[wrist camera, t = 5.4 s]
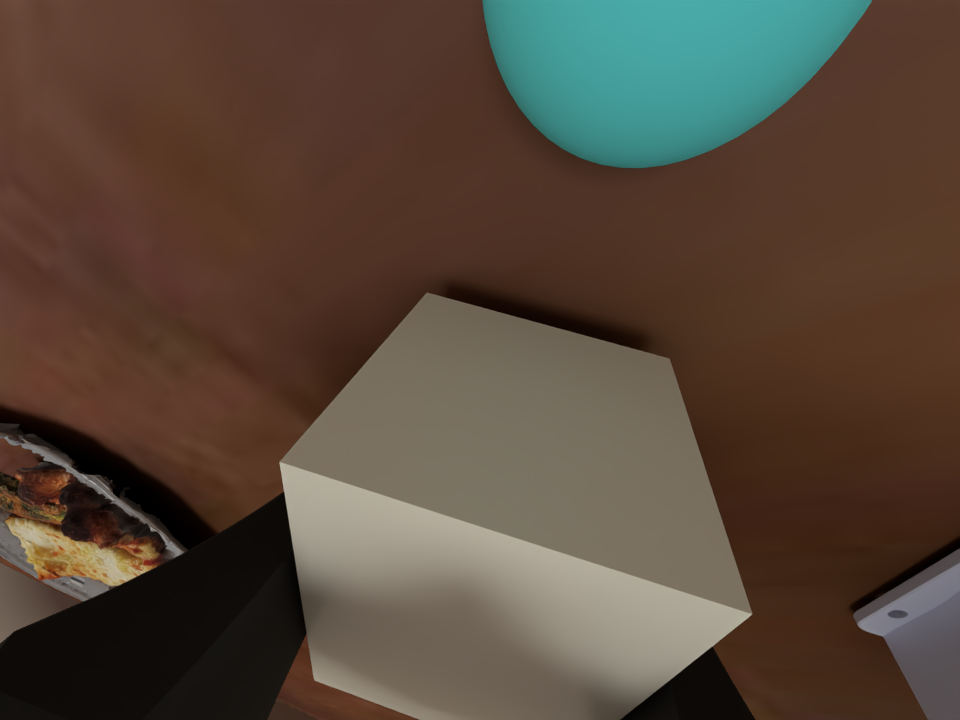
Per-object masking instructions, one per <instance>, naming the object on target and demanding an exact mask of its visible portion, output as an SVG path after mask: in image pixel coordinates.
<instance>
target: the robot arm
mask: <svg viewBox="0 0 960 720" xmlns="http://www.w3.org/2000/svg"><path fill="white" fill-rule="evenodd" d="M854 619H855V621H856V623H857V625H858V626H859V627H860V628H861V629H863V630H865V631H867V632H870V633H873V634H876V635H879V636H882V637H884V639H885V641H886V643H887V645H888V647H889V649H890V650H891V652H892V654H893V656H894V658H895V660H896V661H897V663H898V665H899V667H900V669H901V671H902V673H903V674H904V676H905V678H906V680H907V682H908V684H909V685H910V687H911V689H912V691H913V693H914V695H915V697H916V698H917V700H918V702H919V704H920V706H921V708H922V709H923V711H924V713H925V715H926V717H927V719H928V720H960V548H959V549H958V550H956V551H954V552H953V553H951V554H949V555H948V556H946V557H945V558H943V559H941V560H940V561H938V562H936V563H935V564H933V565H931V566H930V567H928V568H926V569H925V570H923V571H921V572H920V573H918V574H917V575H915V576H913V577H912V578H910V579H908V580H907V581H905V582H903V583H902V584H900V585H898V586H897V587H895V588H893V589H892V590H890V591H888V592H887V593H885V594H884V595H882V596H880V597H879V598H877V599H875V600H874V601H872V602H870V603H869V604H867V605H865V606H864V607H862V608H860V609H859V610H857V611H856V612H855V613H854ZM306 634H307V632H306V626H305V619H304V613H303V607H302V601H301V594H300V588H299V582H298V575H297V569H296V563H295V556H294V550H293V544H292V537H291V531H290V525H289V519H288V512H287V506H286V500H285V493H284V492H283V493H281V494H280V495H278V496H277V497H275V498H274V499H273V500H271V501H270V502H268V503H267V504H265V505H264V506H262V507H261V508H259V509H258V510H256V511H254V512H253V513H251V514H250V515H248V516H247V517H245V518H243V519H242V520H240V521H238V522H237V523H235V524H233V525H232V526H230V527H229V528H227V529H225V530H224V531H222V532H220V533H218V534H216V535H215V536H213V537H211V538H209V539H208V540H206V541H204V542H202V543H201V544H199V545H197V546H195V547H193V548H192V549H190V550H188V551H186V552H184V553H182V554H181V555H179V556H177V557H175V558H173V559H171V560H169V561H167V562H165V563H163V564H161V565H159V566H157V567H155V568H153V569H151V570H149V571H147V572H145V573H143V574H141V575H139V576H137V577H135V578H133V579H131V580H129V581H127V582H125V583H123V584H120V585H118V586H116V587H114V588H112V589H110V590H108V591H106V592H104V593H101V594H99V595H97V596H95V597H93V598H90V599H88V600H86V601H83V602H81V603H79V604H76V605H74V606H72V607H70V608H67V609H65V610H63V611H60V612H58V613H56V614H53V615H51V616H49V617H47V618H44V619H42V620H40V621H38V622H35V623H33V624H31V625H28V626H26V627H23V628H21V629H19V630H17V631H15V632H13V633H12V634H11V635H10V636H9V637H7V638H6V639H5V640H4V641H3V642H2V643H0V720H267V719H268V716H269V714H270V712H271V710H272V707H273V705H274V703H275V701H276V698H277V696H278V694H279V692H280V689H281V687H282V685H283V683H284V681H285V679H286V676H287V674H288V672H289V670H290V668H291V666H292V663H293V661H294V659H295V657H296V655H297V653H298V650H299V648H300V646H301V644H302V642H303V640H304V638H305V636H306ZM620 720H755V718H754V717H753V715H752V713H751V712H750V710H749V708H748V707H747V705H746V703H745V702H744V700H743V699H742V697H741V695H740V694H739V692H738V690H737V689H736V687H735V685H734V684H733V682H732V680H731V678H730V677H729V675H728V673H727V671H726V670H725V668H724V666H723V664H722V663H721V661H720V659H719V657H718V655H717V654H716V652H715V650H714V648H713V646H712V647H711V648H710V649H708V650H707V651H706V652H705V653H703V654H702V655H701V656H700V657H698V658H697V659H696V660H694V661H693V662H692V663H691V664H689V665H688V666H687V667H686V668H684V669H683V670H682V671H681V672H679V673H678V674H677V675H676V676H674V677H673V678H672V679H671V680H669V681H668V682H667V683H666V684H664V685H663V686H662V687H661V688H659V689H658V690H657V691H656V692H654V693H653V694H652V695H651V696H649V697H648V698H647V699H646V700H644V701H643V702H642V703H641V704H639V705H638V706H637V707H635V708H634V709H633V710H632V711H630V712H629V713H628V714H627V715H625V716H624V717H623V718H622V719H620Z"/></svg>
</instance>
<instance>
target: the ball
mask: <svg viewBox="0 0 960 720" xmlns="http://www.w3.org/2000/svg"><path fill="white" fill-rule="evenodd" d="M871 1H872V0H483V10H484V18H485V22H486V27H487V32H488V37H489V41H490V45H491V48H492V51H493V54H494V58H495V61H496V64H497V67H498V69H499V71H500V74H501V76H502V78H503V80H504V82H505V85H506V87H507V89H508V91H509V92H510V94H511V96H512V97H513V99H514V100H515V102H516V104H517V105H518V107H519V108H520V110H521V111H522V112H523V113H524V115H525V116H526V117H527V118H528V120H529V121H530V122H531V123H532V124H533V125H534V126H535V127H536V128H537V129H538V130H539V131H540V132H541V133H542V134H543V135H544V136H545V137H546V138H548V139H549V140H550V141H552V142H553V143H555V144H556V145H558V146H559V147H561V148H562V149H563V150H565V151H567V152H569V153H571V154H573V155H575V156H577V157H580V158H582V159H585V160H588V161H591V162H594V163H597V164H601V165H606V166H613V167H619V168H647V167H655V166H663V165H667V164H671V163H676V162H680V161H684V160H687V159H690V158H692V157H695V156H698V155H700V154H703V153H706V152H708V151H711V150H713V149H715V148H717V147H719V146H721V145H723V144H725V143H727V142H728V141H730V140H732V139H734V138H736V137H738V136H740V135H741V134H743V133H744V132H746V131H748V130H749V129H751V128H752V127H754V126H755V125H757V124H758V123H760V122H761V121H763V120H764V119H765V118H767V117H768V116H769V115H771V114H772V113H773V112H774V111H776V110H777V109H778V108H779V107H781V106H782V105H783V104H784V103H786V102H787V101H788V100H789V99H790V98H791V97H792V96H793V95H794V94H795V93H796V92H798V91H799V90H800V89H801V88H802V87H803V86H804V85H805V84H806V83H807V82H808V81H809V80H810V79H811V78H812V77H813V76H814V75H815V74H816V73H817V71H818V70H819V69H820V68H821V67H822V66H823V65H824V64H825V62H826V61H827V60H828V59H829V58H830V57H831V56H832V54H833V53H834V52H835V51H836V50H837V49H838V47H839V46H840V45H841V44H842V42H843V41H844V39H845V38H846V37H847V35H848V34H849V33H850V31H851V30H852V29H853V27H854V26H855V25H856V23H857V22H858V21H859V19H860V18H861V17H862V15H863V14H864V12H865V11H866V9H867V8H868V6H869V4H870V3H871Z"/></svg>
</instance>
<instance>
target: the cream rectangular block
mask: <svg viewBox="0 0 960 720" xmlns="http://www.w3.org/2000/svg"><path fill="white" fill-rule="evenodd" d="M280 468H281V474H282V481H283V487H284V493H285V500H286V506H287V512H288V519H289V525H290V531H291V537H292V544H293V550H294V556H295V563H296V569H297V575H298V582H299V588H300V594H301V601H302V607H303V613H304V619H305V626H306V632H307V638H308V645H309V651H310V657H311V664H312V670H313V676H314V680H315V681H318V682H320V683H323V684H326V685H328V686H331V687H334V688H336V689H339V690H342V691H345V692H347V693H350V694H353V695H355V696H358V697H361V698H363V699H366V700H369V701H371V702H374V703H377V704H379V705H382V706H385V707H388V708H390V709H393V710H396V711H398V712H401V713H404V714H406V715H409V716H412V717H414V718H417V719H420V720H620V719H622V718H623V717H624V716H625V715H627V714H628V713H629V712H630V711H632V710H633V709H634V708H635V707H637V706H638V705H639V704H641V703H642V702H643V701H644V700H646V699H647V698H648V697H649V696H651V695H652V694H653V693H654V692H656V691H657V690H658V689H659V688H661V687H662V686H663V685H664V684H666V683H667V682H668V681H669V680H671V679H672V678H673V677H674V676H676V675H677V674H678V673H679V672H681V671H682V670H683V669H684V668H686V667H687V666H688V665H689V664H691V663H692V662H693V661H694V660H696V659H697V658H698V657H700V656H701V655H702V654H703V653H705V652H706V651H707V650H708V649H710V648H711V647H712V646H713V645H715V644H716V643H717V642H718V641H720V640H721V639H722V638H723V637H725V636H726V635H727V634H728V633H730V632H731V631H732V630H733V629H735V628H736V627H737V626H738V625H740V624H741V623H742V622H743V621H745V620H746V619H747V618H748V617H750V616H751V615H752V612H751V609H750V606H749V602H748V599H747V596H746V593H745V590H744V587H743V584H742V581H741V578H740V575H739V572H738V568H737V565H736V562H735V559H734V556H733V553H732V550H731V547H730V544H729V541H728V538H727V534H726V531H725V528H724V525H723V522H722V519H721V516H720V513H719V510H718V507H717V504H716V501H715V497H714V494H713V491H712V488H711V485H710V482H709V479H708V476H707V473H706V470H705V467H704V463H703V460H702V457H701V454H700V451H699V448H698V445H697V442H696V439H695V436H694V433H693V429H692V426H691V423H690V420H689V417H688V414H687V411H686V408H685V405H684V402H683V399H682V396H681V392H680V389H679V386H678V383H677V380H676V377H675V374H674V371H673V368H672V365H671V362H670V359H669V358H666V357H662V356H658V355H655V354H651V353H647V352H644V351H640V350H636V349H633V348H629V347H625V346H622V345H618V344H614V343H611V342H607V341H603V340H600V339H596V338H592V337H588V336H585V335H581V334H577V333H574V332H570V331H566V330H563V329H559V328H555V327H552V326H548V325H544V324H541V323H537V322H533V321H530V320H526V319H522V318H519V317H515V316H511V315H508V314H504V313H500V312H497V311H493V310H489V309H485V308H482V307H478V306H474V305H471V304H467V303H463V302H460V301H456V300H452V299H449V298H445V297H441V296H438V295H434V294H430V293H426V294H425V295H424V297H423V298H422V299H421V300H420V301H419V302H418V303H417V305H416V306H415V307H414V308H413V309H412V310H411V311H410V313H409V314H408V315H407V316H406V317H405V318H404V320H403V321H402V322H401V323H400V324H399V325H398V326H397V328H396V329H395V330H394V331H393V332H392V333H391V334H390V336H389V337H388V338H387V339H386V340H385V341H384V342H383V344H382V345H381V346H380V347H379V348H378V349H377V351H376V352H375V353H374V354H373V355H372V356H371V357H370V359H369V360H368V361H367V362H366V363H365V364H364V365H363V367H362V368H361V369H360V370H359V371H358V372H357V374H356V375H355V376H354V377H353V378H352V379H351V380H350V382H349V383H348V384H347V385H346V386H345V387H344V388H343V390H342V391H341V392H340V393H339V394H338V395H337V396H336V398H335V399H334V400H333V401H332V402H331V403H330V405H329V406H328V407H327V408H326V409H325V410H324V411H323V413H322V414H321V415H320V416H319V417H318V418H317V419H316V421H315V422H314V423H313V424H312V425H311V426H310V427H309V429H308V430H307V431H306V432H305V433H304V434H303V436H302V437H301V438H300V439H299V440H298V441H297V442H296V444H295V445H294V446H293V447H292V448H291V449H290V450H289V452H288V453H287V454H286V455H285V456H284V457H283V459H282V460H281V461H280Z"/></svg>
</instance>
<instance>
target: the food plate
mask: <svg viewBox="0 0 960 720" xmlns="http://www.w3.org/2000/svg"><path fill="white" fill-rule="evenodd" d="M19 426H20V424H5V423H0V438H5V439H6V440H7V441H8V443H10V444H11V445H22V447H23V448H26V449H31V450H32V452H33V453H39V454H41V456H44V459H43V460H44V461H49V462H53V463H54V464H51V463H47V462H41V463H39V465H38V466H36V467H33V468H28V469H27V468H19V469H17V472H16V474H15V475H16V476H15V478H14V477H11V476H9V475H6V474H4V473H1V472H0V556H2V557H3V558H4V559H6V560H8V561H9V562H10V563H12V564H14V565H16V566H17V567H19V568H21V569H22V570H24V571H25V572H27V573H29V574H31V575H33V576H35V577H36V578H38V579H39V580H41V581H43V582H44V583H45V584H48V585H50V586H52V587H54V588H55V589H58V590H60V591H62V592H65V593H67V594H69V595H71V596H73V597H75V598H78V599H80V600H81V601H86V600H88V599H90V598H93V597H95V596H97V595H99V594H101V593H104V592H106V591H108V590H110V589H112V588H114V587H116V586H118V585H120V584H123V583H125V582H127V581H129V580H131V579H133V578H135V577H137V576H139V575H141V574H143V573H145V572H147V571H149V570H151V569H153V568H155V567H157V566H159V565H161V564H163V563H165V562H167V561H169V560H171V559H173V558H175V557H177V556H179V555H181V554H182V553H184V552H186V551H188V549H187V548H185V547H183V545H182V544H180V542H179V541H178V540H177V539H175V538H174V535H172V534H171V533H170V532H169V529H167V528H166V526H165V525H164V524H162V522H160V521H161V520H160V518H157V517H155V516H154V515H151V514H148V513H145V512H143V510H141V506H140V504H136V503H134V502H133V501H132V500H130V499H128V498H125V497H124V496H125V494H124V493H125V492H124V491H125V490H126V489H127V490H128V489H130V487H126V488H125V487H124V490H122V491H121V492H120V493H121V495H119V496H120V498H118V497H117V496H115V495H114V494H113V489H115V488H117V487H116V486H115V485H114V484H112V482H111V481H112V480H108V479H107V477H106V476H101V475H85V472H82V471H80V470H78V468H77V467H79V466H78V465H75V460H73V459H71V458H70V456H69V455H68V454H66V453H64V452H63V451H62V450H60V449H58V448H56V447H55V446H53V445H52V444H50V443H48V442H46V441H44V440H43V439H42V438H39V437H38V436H36V435H35V434H27V435H26V434H25V433H24V432H23V431H22V430H20V429H19Z"/></svg>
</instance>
